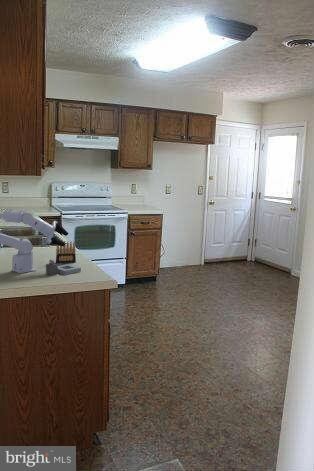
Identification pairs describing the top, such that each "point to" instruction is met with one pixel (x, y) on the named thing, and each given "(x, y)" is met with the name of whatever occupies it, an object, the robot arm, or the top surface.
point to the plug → (51, 268)
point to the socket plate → (68, 269)
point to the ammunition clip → (66, 253)
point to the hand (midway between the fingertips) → (65, 239)
